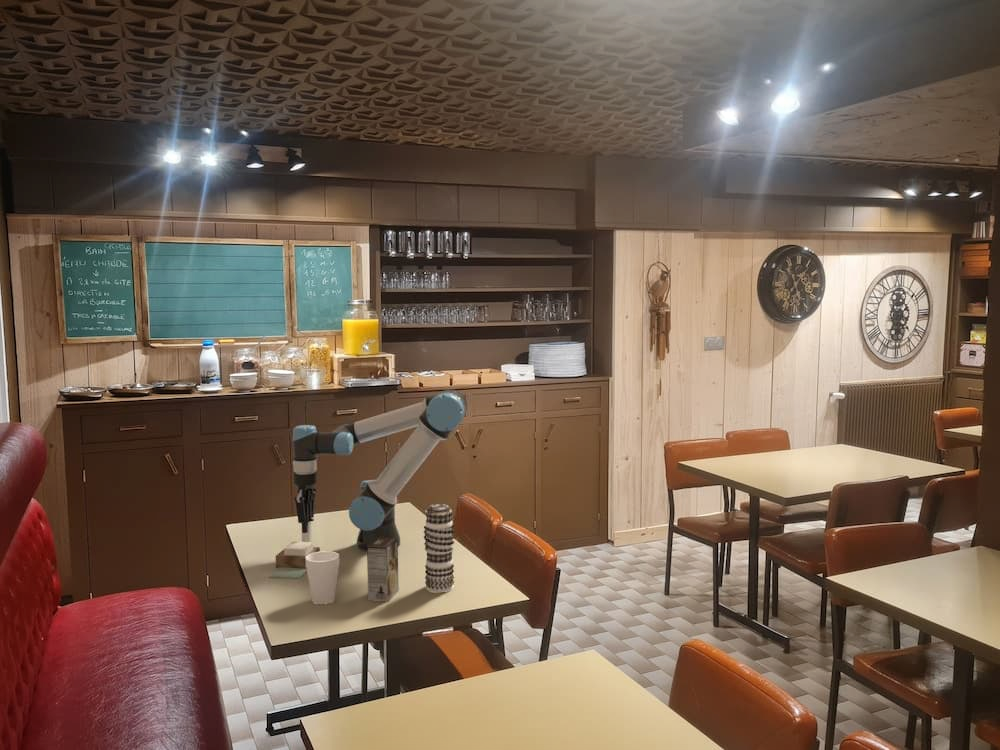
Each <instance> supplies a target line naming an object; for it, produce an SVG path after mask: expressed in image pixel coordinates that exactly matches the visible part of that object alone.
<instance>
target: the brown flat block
mask: <svg viewBox="0 0 1000 750" xmlns="http://www.w3.org/2000/svg"><path fill="white" fill-rule="evenodd" d="M320 551H321V548H320V547H317V546H313V550H312V551H310V552H309V553H308V554H307V555H309V554H311V553H314V552H320ZM307 555H306V556H307ZM306 556H293V555H284V549H283V550H281V551H280V552H279V553H277V554H276V555H275V568H276V569H278V568H280V567H284V568H305V569H307V567H306Z"/></svg>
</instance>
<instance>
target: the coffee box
mask: <svg viewBox="0 0 1000 750" xmlns="http://www.w3.org/2000/svg"><path fill="white" fill-rule="evenodd" d="M398 550H399V546H398V538H383V537H378V538H377V539H375V540H374V541H373V542H372V543H371V544H369V545H368V546H367V551H366V558H367V559H366V563H367V566H366V567H367V600H368V601H373V600H376V601H375V602H385V601H388V602H389V601H390V600H391V599H392V598H394V596H395V595H396V594H397V592H398V591H399V584H400V583H399V551H398ZM377 600H379V601H377Z"/></svg>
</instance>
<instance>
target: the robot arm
mask: <svg viewBox="0 0 1000 750" xmlns="http://www.w3.org/2000/svg"><path fill="white" fill-rule="evenodd" d="M467 410H468V402H467V400H466V397H465V396H464V395H463V393H461V392H460V391H459V390H455V389H450V388H449V389H444V390H442V391H440V392H437V393H435V394H433V395H431V396H428V397H425V398H424V399H423V401H422V402H418V403H414V404H411V405H407V406H405V407H402V408H398V409H395V410H391V411H387V412H384V413H381V414H378V415H374V416H371V417H368V418H365V419H362V420H358V421H355V422H352V423H349V424H347V423H345V424H341V425H338V427H337V428H335V429H334V430H333V431H331V432H330V431H325V432H324V431H322V432H321V431H317V427H316V426H315V425H314V424H313V425H312V424H311V425H310V424H303V425H302V424H301V425H297V426H295V427H294V428H293V430H292V431H293V432H292V452H293V453H292V455H293V462H292V463H291V464H292V466H293V484H294V485H295V486H297V496H294V502H295V507H296V514H297V515H296V516H297V521H298V523H299V524H300V525H301V542H311V541H312V522H314V521H315V519H314V517H315V516H314V515H315V506H316V505H315V503H316V495H317V488H315V487H314V485H315V484H317V482H318V474H317V473H318V472H317V470H318V466H317V465H318V462H317V455H318V456H341V457H342V456H350V455H351V454H352V453H353V450H354V446H356V445H360V444H362V443H366V442H368V441H372V440H375V439H378V438H383V437H386V436H389V435H392V434H395V433H401V432H402V431H405V430H406V431H407V430H410V429H414V428H415V430H413V432H412V433H411V434H410V436H409V437H408V438H407V439H406V441H405V442H404V443H403V445H402V446H401V447H400V449H398V451H397V452H396V454H395V455H394V456H393V457H392V459H391V460H390V461H389V463H388V464H387V465H386V467H385V468H384V469H383V471H382V472H381V473H380V474H379V476H378V477H377V478H376V479H369V480H362V481H361V483H360V488H359V490H360V493H359V494H358V495H357V496H356V498H355V499H353V500H352V501H351V503H350V506H349V509H348V517H349V519H350V521H351V523H352V524H353V526H355V528H357V529H359V532H358V535H357V537H356V547H357V548H358V549H360V550H362V551H366V552H367V546H368V545H369V544H371V543H372V542H373V541H374V540H375V539H377V538H378V537H383V538H398V547H399V546H400V545H401V535H400V533H399V530H398V528H397V525H396V512H395V511H396V510H395V509H396V507H395V506H396V505H397V503H398V498H397V496H398V494H399V493H400V492H401V491H402V490H403V489H404V487H405V486H406V484H408V482H409V481H410V480H411V478H412V477H413V475H414V474H415V473H417V471H418V469H419V468H420V467H421V465H422V464H423V463H424V461H426V459H427V458H428V456H429V455H430V454H431V452H432V451H433V450H434V448H435V447H436V446H437V445H438V444H439V442H440V441H445V440H446V441H447V440H448V438H449V437H450V436H451V435H452V433H453V432H454V431H455V429H456V428H457V427H458V426H459V425H461V423H462V421H463V420H464V417H465V415H467V414H466V413H467Z"/></svg>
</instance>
